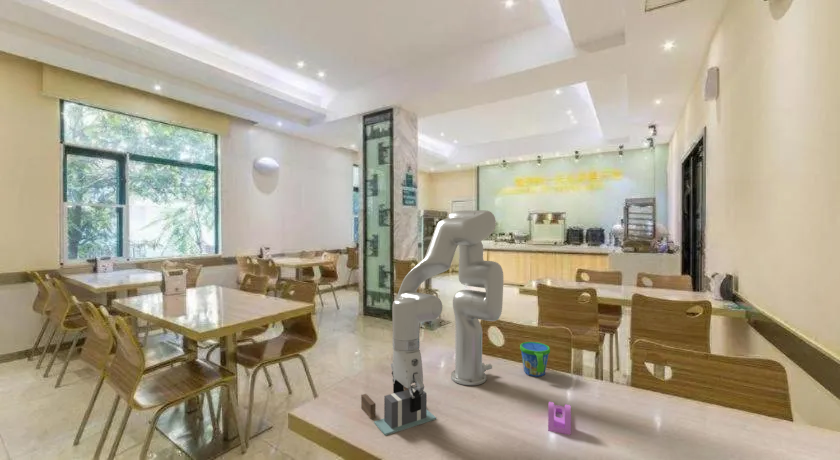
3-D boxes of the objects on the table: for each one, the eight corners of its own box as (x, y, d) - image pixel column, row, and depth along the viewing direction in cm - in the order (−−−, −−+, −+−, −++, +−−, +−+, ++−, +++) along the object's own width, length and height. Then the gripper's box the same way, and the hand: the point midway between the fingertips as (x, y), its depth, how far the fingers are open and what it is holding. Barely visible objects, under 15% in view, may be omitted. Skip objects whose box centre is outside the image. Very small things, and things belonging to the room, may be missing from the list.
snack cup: (553, 383, 127) (554, 354, 127) (522, 381, 129) (522, 352, 129) (545, 366, 143) (545, 340, 143) (517, 364, 144) (517, 338, 144)
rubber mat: (423, 408, 110) (423, 406, 110) (436, 419, 104) (436, 417, 104) (374, 423, 102) (374, 421, 102) (385, 435, 96) (385, 433, 96)
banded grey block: (418, 410, 108) (418, 386, 108) (426, 417, 104) (426, 393, 104) (384, 420, 102) (384, 395, 102) (391, 428, 98) (391, 402, 98)
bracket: (570, 435, 97) (570, 409, 96) (548, 431, 98) (548, 405, 98) (568, 411, 109) (569, 388, 109) (549, 408, 111) (549, 385, 111)
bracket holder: (408, 395, 118) (408, 383, 118) (419, 404, 112) (419, 391, 112) (361, 408, 110) (361, 394, 110) (370, 418, 104) (370, 404, 104)
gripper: (434, 349, 97) (434, 413, 98) (403, 332, 112) (403, 387, 113) (409, 355, 93) (410, 421, 94) (380, 336, 108) (381, 393, 109)
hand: (406, 402), depth 103 cm, fingers open, 9 cm apart
